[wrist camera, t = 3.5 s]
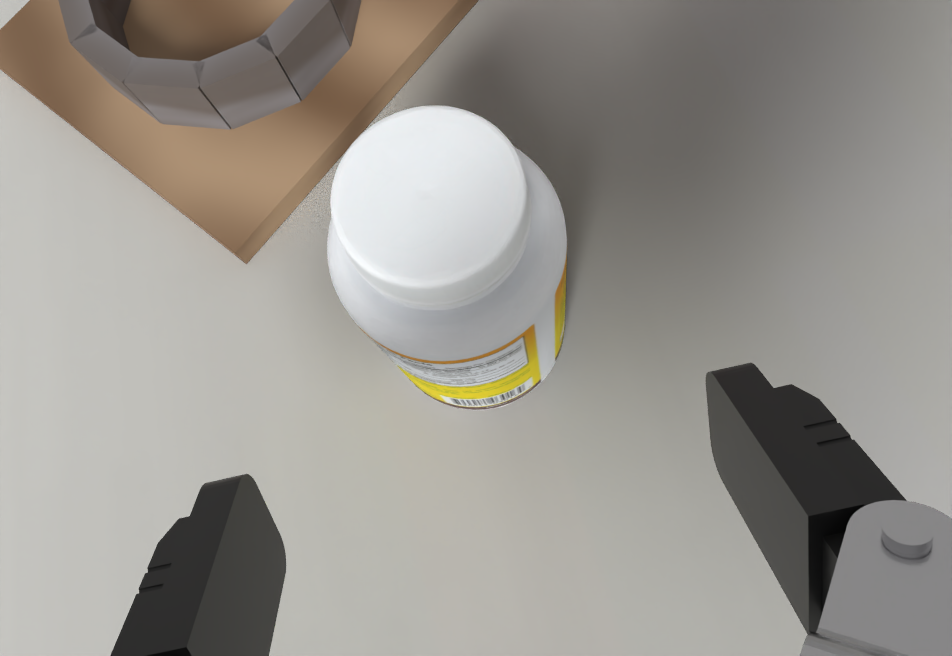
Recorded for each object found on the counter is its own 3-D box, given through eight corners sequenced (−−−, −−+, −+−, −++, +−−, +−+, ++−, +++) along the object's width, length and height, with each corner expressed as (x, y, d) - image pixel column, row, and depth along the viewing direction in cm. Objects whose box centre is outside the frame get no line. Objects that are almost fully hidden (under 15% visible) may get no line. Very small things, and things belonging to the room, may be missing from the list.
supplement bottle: (473, 220, 25) (422, 20, 16) (600, 321, 24) (630, 170, 14) (361, 339, 25) (233, 207, 15) (484, 451, 23) (433, 387, 13)
